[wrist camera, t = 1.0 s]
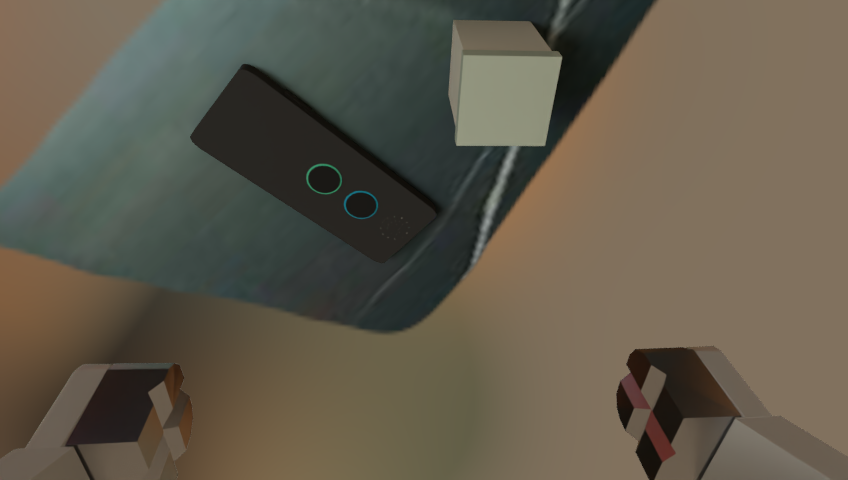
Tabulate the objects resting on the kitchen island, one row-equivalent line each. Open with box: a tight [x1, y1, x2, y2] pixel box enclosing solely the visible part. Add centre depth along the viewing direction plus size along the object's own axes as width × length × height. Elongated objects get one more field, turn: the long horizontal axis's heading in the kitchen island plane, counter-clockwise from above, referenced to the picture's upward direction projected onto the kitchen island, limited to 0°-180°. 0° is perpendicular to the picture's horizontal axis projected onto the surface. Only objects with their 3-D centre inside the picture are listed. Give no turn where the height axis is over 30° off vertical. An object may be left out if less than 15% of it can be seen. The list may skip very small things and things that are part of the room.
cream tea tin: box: [449, 20, 562, 146], centre depth 36 cm, size 6×6×8 cm
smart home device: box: [190, 64, 436, 263], centre depth 44 cm, size 8×2×20 cm
